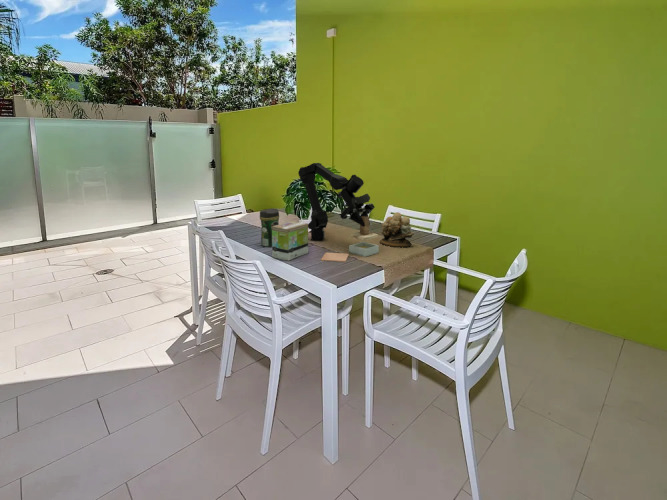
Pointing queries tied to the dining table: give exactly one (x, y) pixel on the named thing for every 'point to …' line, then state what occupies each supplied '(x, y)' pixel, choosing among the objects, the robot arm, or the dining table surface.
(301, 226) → the tea box
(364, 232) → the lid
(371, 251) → the pale green square dish
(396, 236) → the brown lumpy sculpture
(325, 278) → the dining table surface
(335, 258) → the tile
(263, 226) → the coffee jar
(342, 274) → the dining table surface
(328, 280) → the dining table surface
